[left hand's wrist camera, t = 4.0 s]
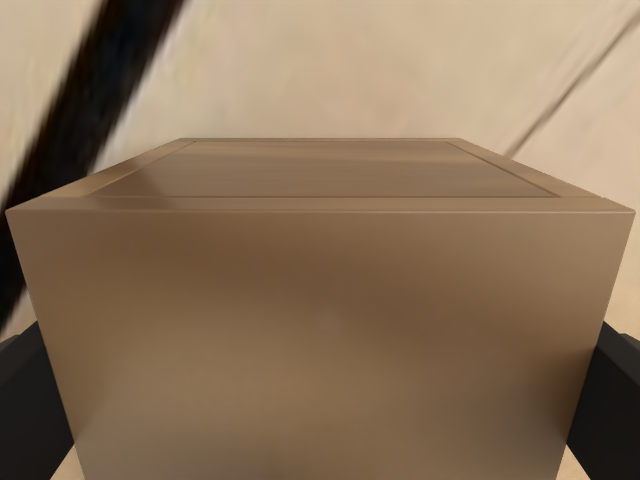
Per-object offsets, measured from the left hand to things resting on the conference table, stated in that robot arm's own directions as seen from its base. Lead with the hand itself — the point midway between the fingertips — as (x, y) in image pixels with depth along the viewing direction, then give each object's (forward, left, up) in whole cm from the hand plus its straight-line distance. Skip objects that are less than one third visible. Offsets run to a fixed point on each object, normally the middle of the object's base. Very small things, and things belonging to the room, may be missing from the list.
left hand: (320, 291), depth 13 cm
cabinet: (+6, -2, -5) cm, 8 cm away
